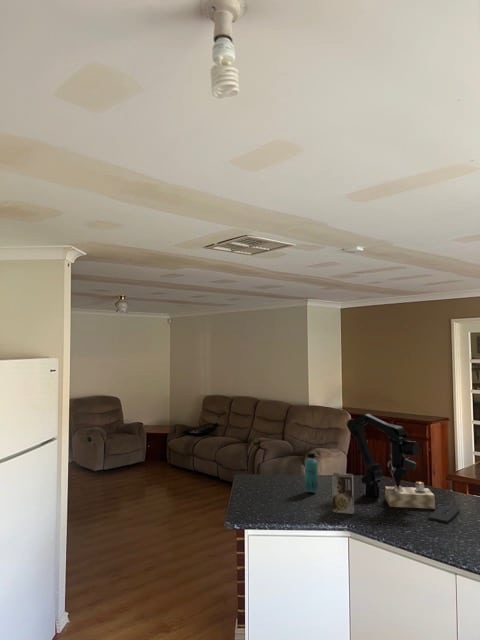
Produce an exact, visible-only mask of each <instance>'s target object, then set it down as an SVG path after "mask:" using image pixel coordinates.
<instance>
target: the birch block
mask: <svg viewBox="0 0 480 640" xmlns="http://www.w3.org/2000/svg"><path fill="white" fill-rule="evenodd" d="M384 487H385V488H384V489H385V493H384V497H385V500H386V503H387V504H388V506H389V507H393V508H410V509H411V508H415V509H433V510H434V509H436V508H435V507H436V505H435V503H436V501H435V498H436V497H435V494H434V493H433V492H432V491H431V489H429V488H428V487H424V493H421V492H416V487H409V486H405V487H404V486H402V492H398V491H394V486H386V485H385V486H384Z"/></svg>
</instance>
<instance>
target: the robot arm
mask: <svg viewBox="0 0 480 640" xmlns="http://www.w3.org/2000/svg"><path fill="white" fill-rule="evenodd" d="M367 424H368V425H370V426H372V427H374V428H376V429H379V430H380V431H382V432H383V433H385V435H386V436H387V437H388V438H389V439H388V440H386V443H389V444H390V454H389V455H390V460H389V461H388V462H387V467H388V468H391V469H389V470H390V473H391V476H392V477H393V480H394V483H395V485H396V486H397V487H399V486H401V485H400V484H401V481H402V477H403V476H406V477H407V476H409V471H408V469H406V468H409V469H411V470H413V471H415V470H416V467H417V464H418V463H416V462H415V461H414V460H413V458H412V457H416V458H417V457H418V456H419V454H420V451H421V450H420V447H419V444H418V443H417V441H415V440H414V441H412V440H410V438H409V436H408V435H407V433H406V431H405V428H404V427H403V426H401V425H397V424H392V423H388V422H386V421H383V420H382V419H379V418H377V417H376V416H373V415H372V414H370V413H364V414H362V415H360V416H357V417H355V418H350V419H349V420H347V423H346V427H347V429H348V431H349V432H350V434H351V435H352V436H353V437H354V438H355V440H356V444H357V446H358V449H359V452H360V454H361V457H362V459H363V462H364V475H363V477H361V482H362V484H364V491H363V494H364V496H365V497H367V498H368V497H369V498H380V486H379V483H381V480H382V479H383V476H384V473H383V472H384V470H383V468H382V466H381V463H377V462H376V461H375V459H374V456H373V454H372V451H371V448H370V446H369V444H368V441H367V439H366V435H365V428H366V427H365V425H367ZM406 456H408V457H407V458H406ZM409 456H411V457H409Z"/></svg>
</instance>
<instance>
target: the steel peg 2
mask: <svg viewBox="0 0 480 640" xmlns="http://www.w3.org/2000/svg"><path fill="white" fill-rule="evenodd" d="M415 488H416V492H421V493H424V488H425V483H424V482H423V481H415Z"/></svg>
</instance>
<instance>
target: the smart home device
mask: <svg viewBox="0 0 480 640" xmlns="http://www.w3.org/2000/svg"><path fill="white" fill-rule="evenodd" d="M460 511H461V509H460V508H454V507H450V506H444V505H441V506H439V507H438V508H437V509H436V510H435V511H433V512H432V513H430V515H428V521H429V520H430V521H433V522H438V523H442V524H449V523H450V522H451V521H452V520H453V519H455V517H457V516H458V515H459V514H460V513H461V512H460Z"/></svg>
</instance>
